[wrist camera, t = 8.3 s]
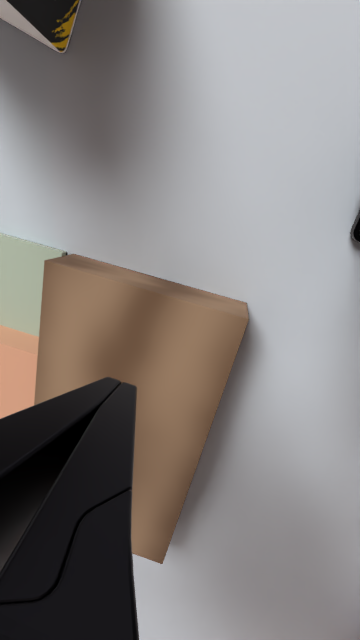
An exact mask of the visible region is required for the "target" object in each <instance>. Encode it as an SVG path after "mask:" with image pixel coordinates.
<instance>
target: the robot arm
mask: <svg viewBox="0 0 360 640" xmlns="http://www.w3.org/2000/svg"><path fill="white" fill-rule="evenodd" d="M359 230H360V210H359V213H358V215H357V217H356V219H355V222H354V224H353V226H352V229H351V232H350V234H351V237H352V239H353V240H355V241H357V242H360V235H359ZM136 401H137V387H136V386H135V385H132V384H129V383H126V382H121V381H120V380H117V379H114V378H111V377H105V378H102V379H100V380H97V381H95V382H92V383H90V384H87V385H85V386H82V387H80V388H77V389H74V390H72V391H69V392H67V393H64V394H62V395H59V396H57V397H54V398H51V399H49V400H46V401H44V402H41V403H39V404H36V405H34V406H31V407H29V408H26V409H23V410H21V411H18V412H16V413H13V414H11V415H8V416H6V417H3V418H1V419H0V640H139V633H138V621H137V610H136V598H135V587H134V575H133V559H132V541H131V524H132V488H133V466H134V445H135V423H136Z"/></svg>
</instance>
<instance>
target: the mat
mask: <svg viewBox="0 0 360 640" xmlns="http://www.w3.org/2000/svg"><path fill="white" fill-rule="evenodd" d="M62 256H66V252H65V251H62V250H58V249H55V248H51V247H48V246H44V245H41V244H37V243H34V242H30V241H27V240H23V239H20V238H16V237H13V236H9V235H6V234H2V233H0V325H2V326H5V327H9V328H12V329H15V330H18V331H21V332H25V333H28V334H31V335H34V336H38V337H39V329H40V315H41V301H42V288H43V274H44V260H48V259H53V258H57V257H62Z"/></svg>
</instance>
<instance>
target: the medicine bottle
mask: <svg viewBox="0 0 360 640" xmlns="http://www.w3.org/2000/svg"><path fill="white" fill-rule="evenodd" d="M80 3H81V0H0V18H1V19H3V20H4V21H6V22H8V23H10V24H11V25H13V26H15V27H16V28H18V29H20V30H21V31H23V32H25V33H26V34H28V35H30V36H31V37H33V38H35V39H37V40H38V41H40V42H42V43H43V44H45V45H47V46H48V47H50V48H52V49H53V50H55V51H57V52H59V53H64V52H66V50H67V48H68V44H69V41H70V37H71V34H72V30H73V27H74V24H75V20H76V17H77V13H78V10H79V6H80Z"/></svg>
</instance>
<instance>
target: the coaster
mask: <svg viewBox="0 0 360 640" xmlns="http://www.w3.org/2000/svg"><path fill="white" fill-rule="evenodd" d="M38 343H39V337H38V336H34V335H31V334H28V333H25V332H21V331H18V330H15V329H12V328H9V327H5V326H2V325H0V419H1V418H3V417H6V416H8V415H11V414H13V413H16V412H18V411H21V410H23V409H26V408H29V407H31V406H34V399H35V385H36V371H37V357H38Z"/></svg>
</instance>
